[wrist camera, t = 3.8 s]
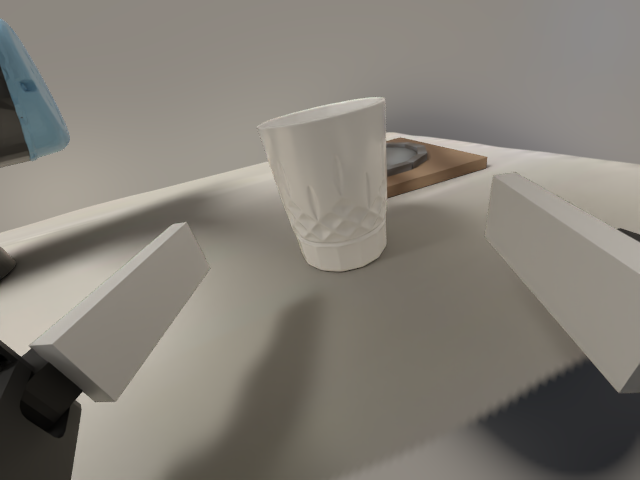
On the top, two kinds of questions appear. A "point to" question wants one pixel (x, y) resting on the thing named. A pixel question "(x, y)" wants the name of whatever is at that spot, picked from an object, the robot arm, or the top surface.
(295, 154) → the white cup
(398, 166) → the coaster board
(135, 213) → the top surface
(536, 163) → the top surface
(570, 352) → the top surface
